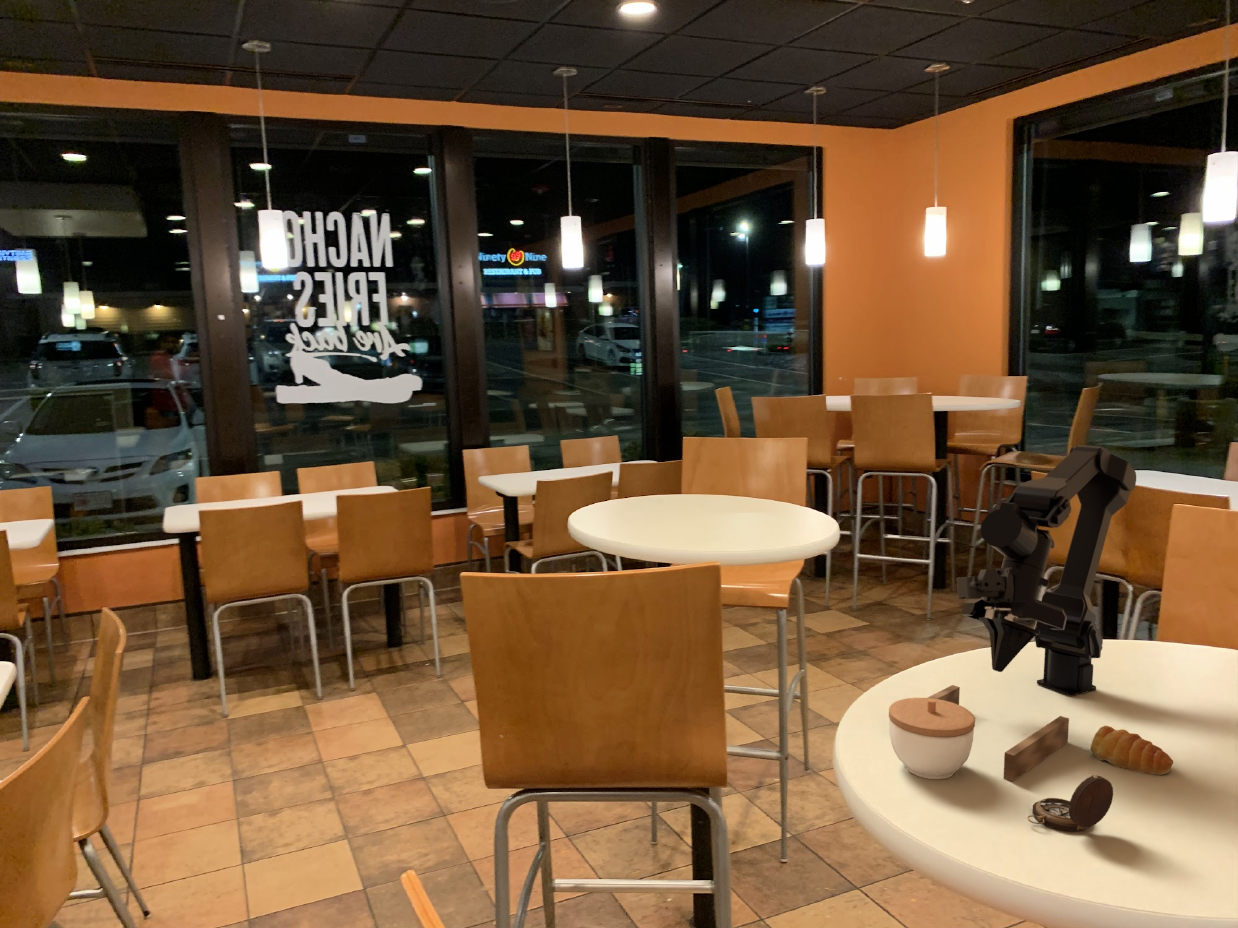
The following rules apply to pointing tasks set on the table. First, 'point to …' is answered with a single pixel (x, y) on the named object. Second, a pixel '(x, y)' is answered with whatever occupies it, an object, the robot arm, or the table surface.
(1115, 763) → the pastry
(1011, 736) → the table surface
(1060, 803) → the compass
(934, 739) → the lidded jar
